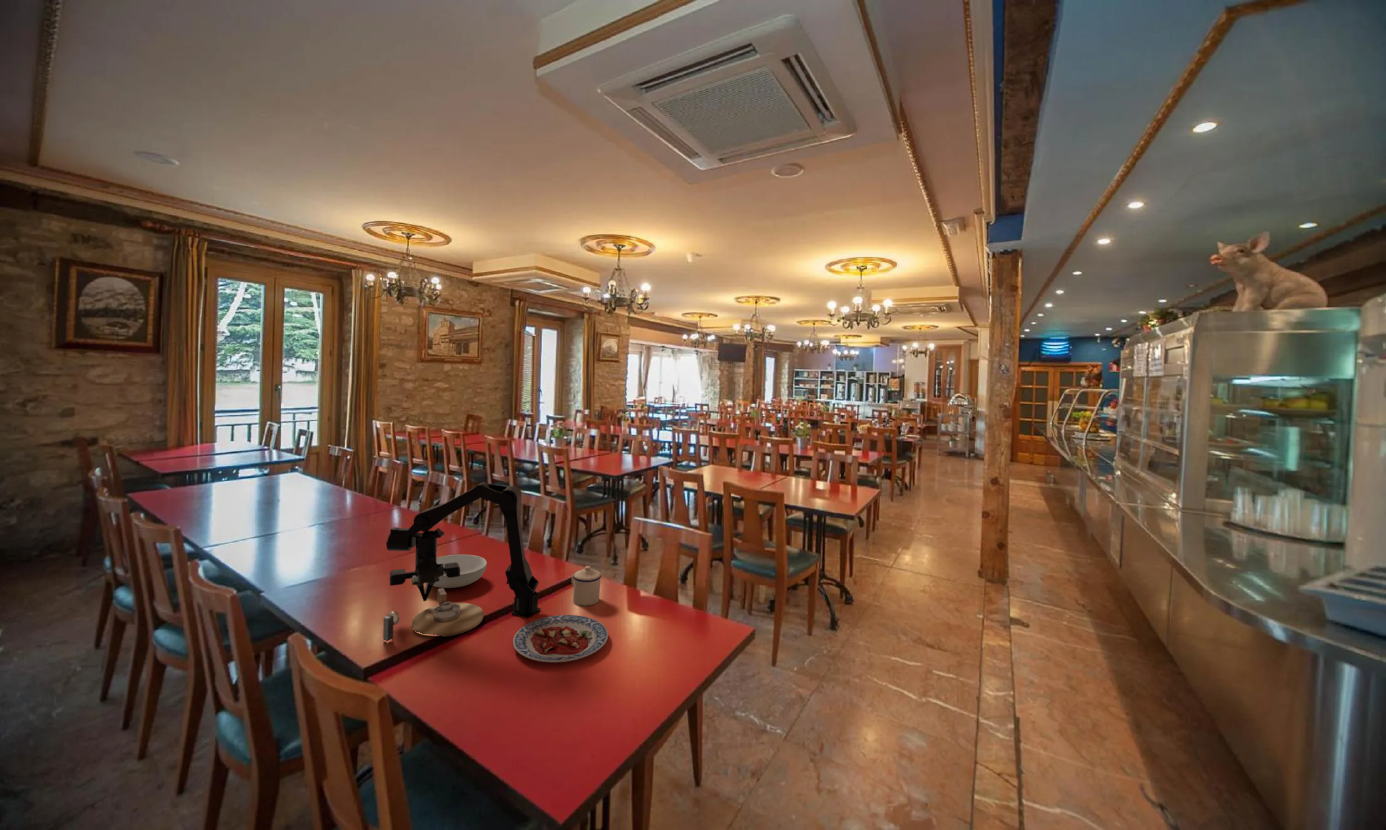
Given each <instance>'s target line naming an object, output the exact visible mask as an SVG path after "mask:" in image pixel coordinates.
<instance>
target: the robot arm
mask: <svg viewBox="0 0 1386 830" xmlns="http://www.w3.org/2000/svg"><path fill="white" fill-rule="evenodd" d="M522 497H523V493H522V490H521V488H519V487H517V486H515V485H510V486H506V485H501V484H494V483H489V482H485V481H483V482H480V483H478V484H477V485H476V486H474V487H473V488H471V489H469V490H467V491H465V492H463V493H461V494H460V495H457V496H456V497H453V498H452V499H450V500H448V501H446V502H444V503H441V504H437V505H434V506H431V507H428V508H425V509H424V510H422V511H421V512H419V513H418V514H417V515H415V516H414V518H413V523H412V525H411V526H410V527H409V528H407V527H406V528H404V527H401V528H400V527H392V528H390V533H389V535H388V537H387V541H386V542H385V544H386V545H385V546H386V550H388V551H389V552H392V551H393V552H410V551H411V550H412V549H413V548H415V554H414V555H415V561H414V563H415V565H414V571H407V572H406V568H400V569H392V570H391V571H390V572H389V586H400V585H404V584H405V582H406V580H409V579H411V585H412V586H416V587H417V588H418V590H419V593H420V595H421V598H422V601H423V602H427V600H428V598H429V596H430V593H431V591H432V588H433V587H434V586H433V585H434V584H435V582H438V581H439V577H440V576H443V575H444V574H446V576H447V577H449V578H451V577H458V576H460V567H459V564H458V563H457V562H455V563H447V564H445V565H444V564H437V562H436V558H437V557H438V556H437V553H438V552H437V549H438V547H437V546H438V539H441V538H442V537H443V536H445V534H446V533H445V532H444V531H443V530H441V528H440V527H437V528H436V529H435V530H431V529H432V528H434V527H435V526H437V525H438V524H439V523H441V522H442V521H443V520H444V519H446V517H448V516H449V515H451V514H453V513H455V512H457V511H458V510H461V509H463V508H464V507H466V506H468V505H470V504H471V503H473V502H475V501H477V500H479V499H484V500H486V501H489V502H490V503H494V504H497V505H498V507H499V509H500V513H502V515H503V518H504V520H505V527H506V535H507V541H508V549H509V558H510V564H509V566H507V568H506V570H505V572H504V573H505V576H506V585H508V586H509V589H510V590H512V592H513V593H514V597H513V611H511V613H510V614H511V615H513V616H519V617H521V618H526V619H529V618H530V617H533V616H534V615H536V614H537V613H538V612H540V611H541V608H540V607H538V606H539V605H538V604H539V592H537V591H536V590H537V588H538V586H539V583H540V582H539V580H538V579H537V578H535V576H533V573H532V570H531V566H530V563H529V562H528V560H527V558H526V553H525V546H524V545H525V544H524V538H523V530H522V522H521V516H520V515H521V509H522V508H521V507H522V499H523V498H522ZM424 585H425V586H424Z"/></svg>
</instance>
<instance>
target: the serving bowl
mask: <svg viewBox="0 0 1386 830" xmlns="http://www.w3.org/2000/svg"><path fill="white" fill-rule="evenodd" d="M436 562H437V564H444V565H445V564H447V563H455V562H457V563H458V564H459V567H460V576H458V577H451V578H449V577H447V576H446V574H444V575H443V576H440V577H439V581H438V582H435V584H434V585H433V587H436V588H440V589H441V588H443V589H453V588H455V589H456V588H461V587H465V586H468V585H471V584H473V583H475V582H476V581H478V580H479V579H480V578H482V576H483V575H484V573H485V572H486V568H487V565H488V564H487V563H488V562H487V560H486V559H485V558H484V557H482V556H479V555H473V554H450V555H442V556H437V558H436Z"/></svg>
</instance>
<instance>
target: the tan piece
mask: <svg viewBox="0 0 1386 830" xmlns="http://www.w3.org/2000/svg"><path fill="white" fill-rule="evenodd" d="M436 602H437V603H438V605H434V606H432V607H429V608H426V609H424V610H422V611H420V612H419V613H417V614H416V615H415V616H414V617H413V619H412V622H411V629H412V628H413V629H414V631H416V632H420V633H422V634H433V635H435V634H436V635H440V636H442V637H441V638H444V637H451V636H452V637H453V636H456V635H461V634H463V633H466V632H468V631H471V630H473V629H475V628H476V627H477V626H478V625H480V624H481V623H482V621H483V620H484V610H483V609H482V607H480V606H479V605H476V604H473V603H469V602H468V603H467V602H453V604H457V605H459V606H460V617H459V618H458V619H456V620H454V621H451V622H446V623H439V622H436V621H434V609H435V608H436V607H438V606H440V605H441V604H442V603H444V602H447V592H446V590H445V588H441V587H440V588H438V589H437V601H436ZM413 629H412V630H413ZM414 631H413V632H414Z"/></svg>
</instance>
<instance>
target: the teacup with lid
mask: <svg viewBox="0 0 1386 830" xmlns="http://www.w3.org/2000/svg"><path fill="white" fill-rule="evenodd" d="M601 579H602V574H601V572H600V571H599V570H595V569H593V568H591V566H590V565H586V566H585V567H584V568H582V569H580V570H578V571H575V572H574V574H573V575H572V576H571V586H572V588H573V592H572V593H573V594H572V595H573V597H572V600H573V603H574V604H575V605H578V606H584V607H588V606H589V607H591V606H593V605H596V604H597V603H599V600H600V594H601V593H600V592H601V590H600V589H601Z"/></svg>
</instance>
